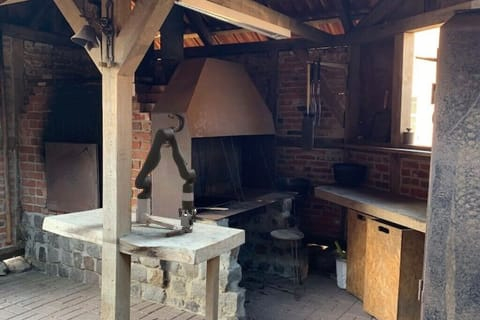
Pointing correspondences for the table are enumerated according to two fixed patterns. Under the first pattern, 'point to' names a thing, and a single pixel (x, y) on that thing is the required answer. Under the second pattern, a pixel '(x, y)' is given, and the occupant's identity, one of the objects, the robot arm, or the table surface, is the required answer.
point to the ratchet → (179, 231)
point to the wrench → (157, 222)
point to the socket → (186, 221)
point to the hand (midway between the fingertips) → (187, 224)
